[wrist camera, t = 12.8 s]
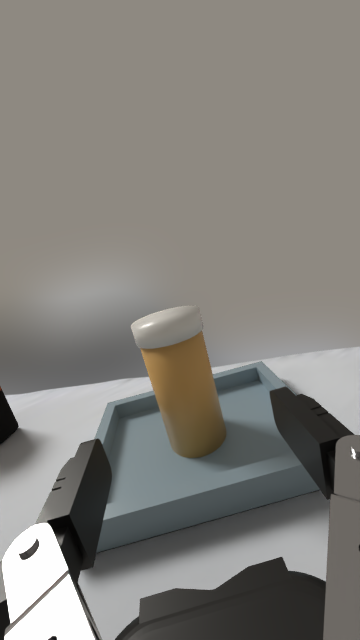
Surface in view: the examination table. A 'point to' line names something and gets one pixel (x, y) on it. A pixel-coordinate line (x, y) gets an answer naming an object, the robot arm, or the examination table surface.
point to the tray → (196, 462)
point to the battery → (6, 418)
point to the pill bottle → (182, 379)
